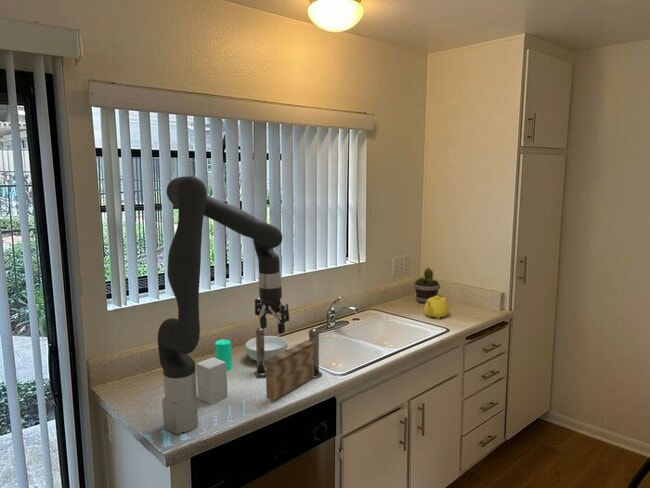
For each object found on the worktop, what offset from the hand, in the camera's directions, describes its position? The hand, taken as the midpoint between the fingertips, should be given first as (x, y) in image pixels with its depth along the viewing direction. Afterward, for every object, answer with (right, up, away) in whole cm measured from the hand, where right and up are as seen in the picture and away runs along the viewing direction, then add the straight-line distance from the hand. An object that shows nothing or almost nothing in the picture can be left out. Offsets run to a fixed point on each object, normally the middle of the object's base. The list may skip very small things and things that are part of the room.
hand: (272, 330), depth 173 cm
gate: (+6, -21, +5) cm, 22 cm away
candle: (-21, -19, +24) cm, 37 cm away
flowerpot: (+75, -3, +114) cm, 137 cm away
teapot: (+75, -8, +87) cm, 115 cm away
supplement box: (-20, -23, -1) cm, 30 cm away
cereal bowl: (-6, -17, +32) cm, 37 cm away
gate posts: (+4, -20, +17) cm, 26 cm away
